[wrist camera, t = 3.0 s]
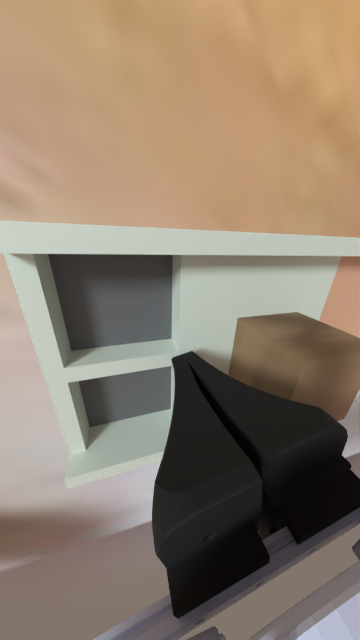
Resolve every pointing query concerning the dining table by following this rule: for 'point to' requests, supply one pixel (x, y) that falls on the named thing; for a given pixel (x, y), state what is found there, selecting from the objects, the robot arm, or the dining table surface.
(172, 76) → the dining table surface
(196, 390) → the robot arm
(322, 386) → the walnut block
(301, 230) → the dining table surface
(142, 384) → the tray
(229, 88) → the dining table surface
